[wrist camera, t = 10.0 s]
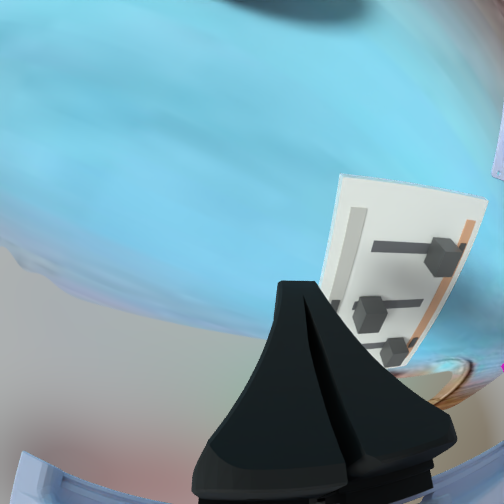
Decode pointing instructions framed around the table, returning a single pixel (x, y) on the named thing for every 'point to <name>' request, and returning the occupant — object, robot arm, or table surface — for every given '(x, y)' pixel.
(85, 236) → the table surface
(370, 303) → the tab
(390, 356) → the tab
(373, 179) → the switch panel
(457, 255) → the tab
